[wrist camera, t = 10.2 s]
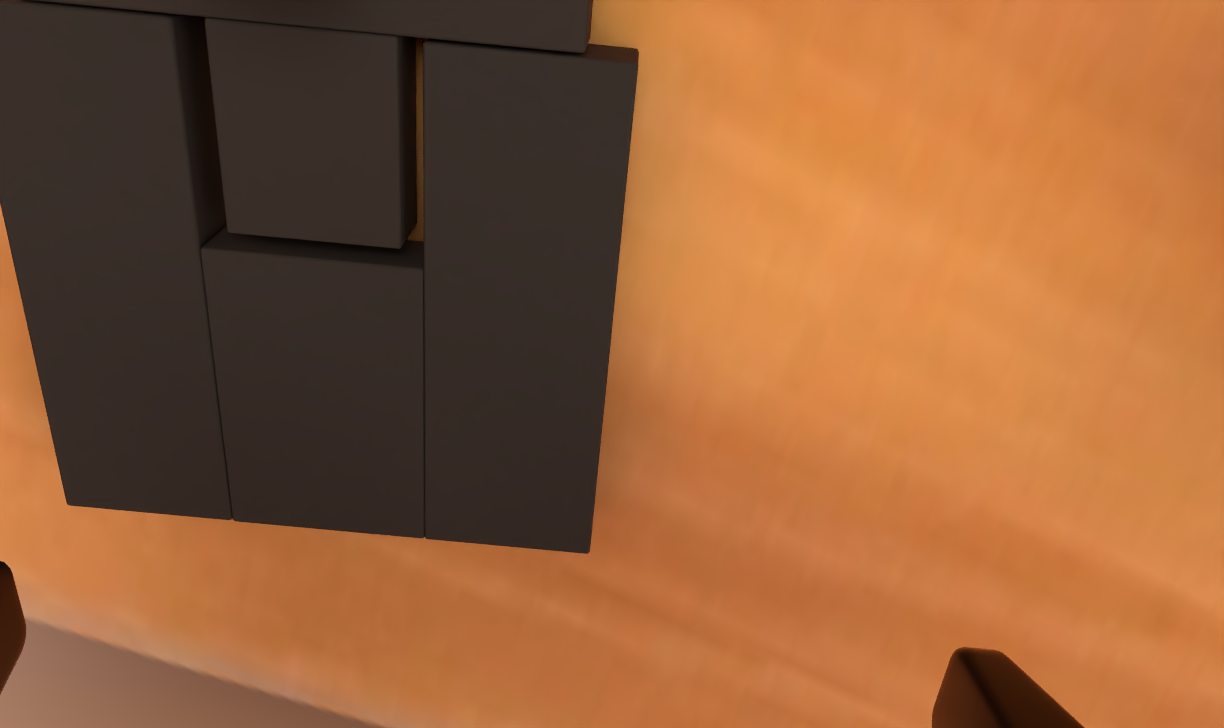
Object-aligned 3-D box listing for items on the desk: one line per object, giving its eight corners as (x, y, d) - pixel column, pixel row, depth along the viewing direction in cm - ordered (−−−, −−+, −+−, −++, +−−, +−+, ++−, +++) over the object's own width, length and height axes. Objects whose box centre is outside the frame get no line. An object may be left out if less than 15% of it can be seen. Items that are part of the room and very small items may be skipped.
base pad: (638, 48, 18) (638, 63, 17) (592, 515, 23) (589, 555, 22) (2, -15, 18) (-48, -5, 17) (98, 469, 23) (65, 506, 22)
